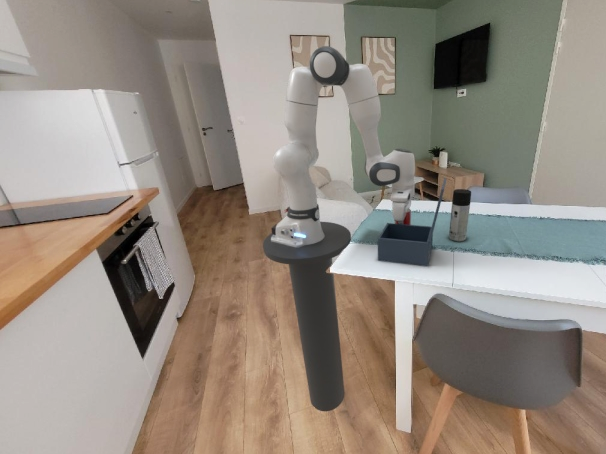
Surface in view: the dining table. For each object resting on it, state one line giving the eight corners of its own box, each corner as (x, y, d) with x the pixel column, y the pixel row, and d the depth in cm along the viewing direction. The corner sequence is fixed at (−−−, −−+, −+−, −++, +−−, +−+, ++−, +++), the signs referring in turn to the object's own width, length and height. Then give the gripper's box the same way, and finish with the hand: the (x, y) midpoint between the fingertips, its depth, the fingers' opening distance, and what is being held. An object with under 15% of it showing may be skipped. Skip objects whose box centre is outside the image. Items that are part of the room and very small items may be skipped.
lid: (441, 188, 88) (444, 189, 87) (444, 177, 100) (446, 178, 100) (427, 241, 96) (430, 242, 95) (432, 225, 108) (434, 225, 108)
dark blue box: (378, 260, 104) (377, 238, 101) (387, 243, 117) (387, 222, 114) (427, 266, 99) (429, 243, 96) (431, 247, 112) (433, 226, 108)
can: (393, 239, 120) (393, 211, 115) (396, 233, 125) (396, 206, 120) (408, 241, 118) (409, 212, 113) (411, 235, 123) (412, 207, 118)
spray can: (450, 234, 122) (454, 188, 115) (467, 236, 120) (472, 189, 112) (447, 240, 117) (451, 192, 109) (465, 243, 114) (470, 194, 106)
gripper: (400, 184, 124) (400, 214, 129) (389, 198, 106) (389, 232, 111) (415, 184, 122) (414, 215, 127) (406, 199, 104) (406, 234, 109)
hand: (402, 223), depth 119 cm, fingers closed on can, 6 cm apart
